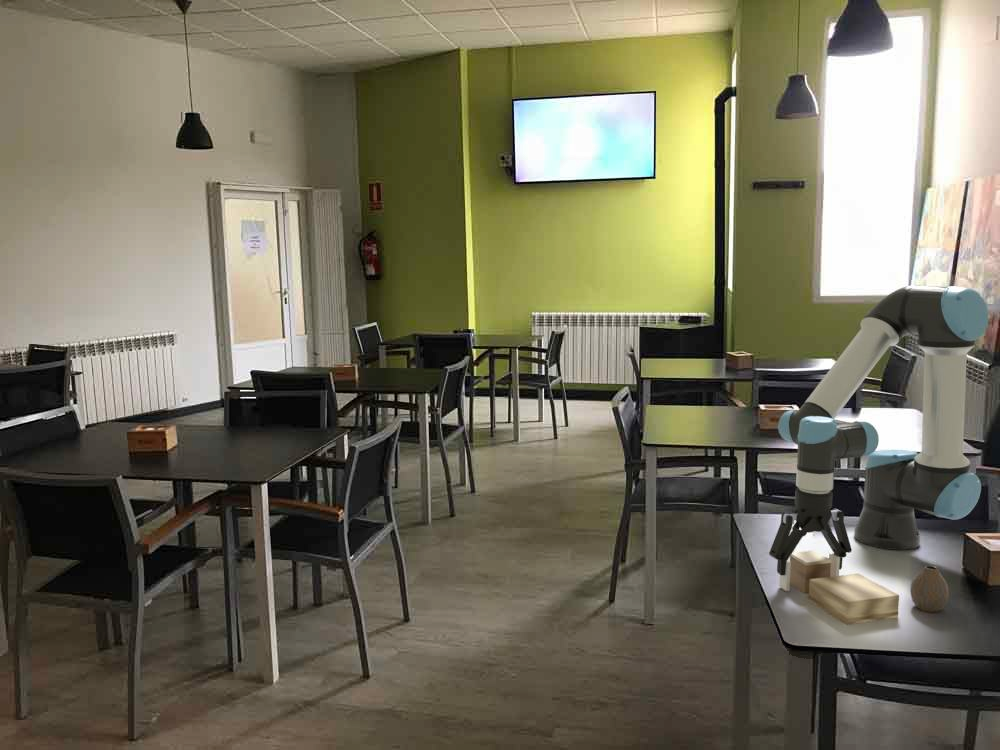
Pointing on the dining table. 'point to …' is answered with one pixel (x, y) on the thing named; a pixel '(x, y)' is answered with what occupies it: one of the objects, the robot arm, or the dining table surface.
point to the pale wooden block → (808, 568)
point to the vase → (929, 590)
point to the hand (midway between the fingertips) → (808, 586)
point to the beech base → (853, 598)
